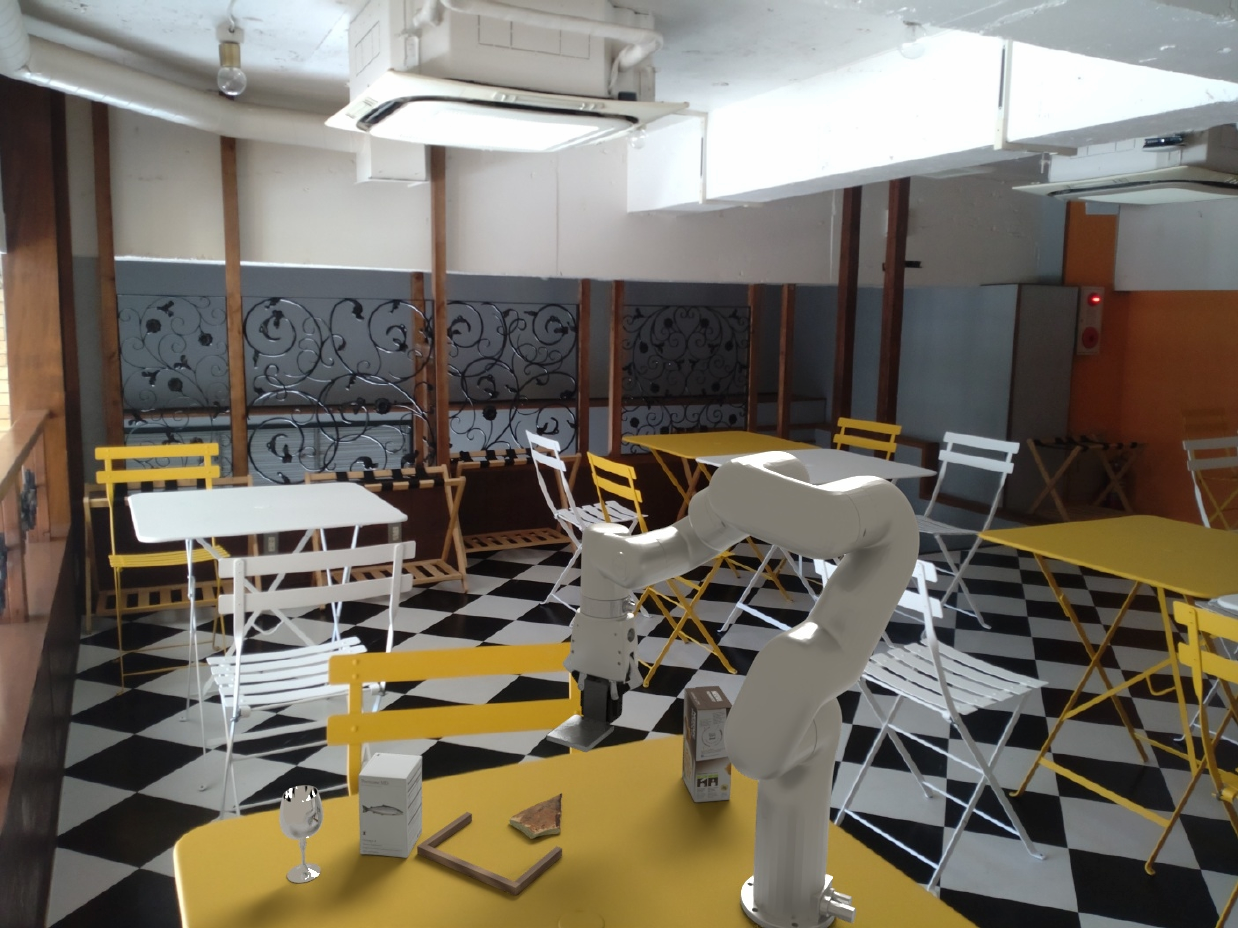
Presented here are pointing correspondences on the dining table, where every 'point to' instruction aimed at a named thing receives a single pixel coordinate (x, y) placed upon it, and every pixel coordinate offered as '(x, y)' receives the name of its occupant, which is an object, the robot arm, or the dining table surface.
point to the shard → (540, 818)
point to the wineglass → (301, 825)
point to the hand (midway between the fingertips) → (600, 714)
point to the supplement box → (390, 804)
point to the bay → (478, 872)
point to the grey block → (587, 718)
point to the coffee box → (706, 744)
